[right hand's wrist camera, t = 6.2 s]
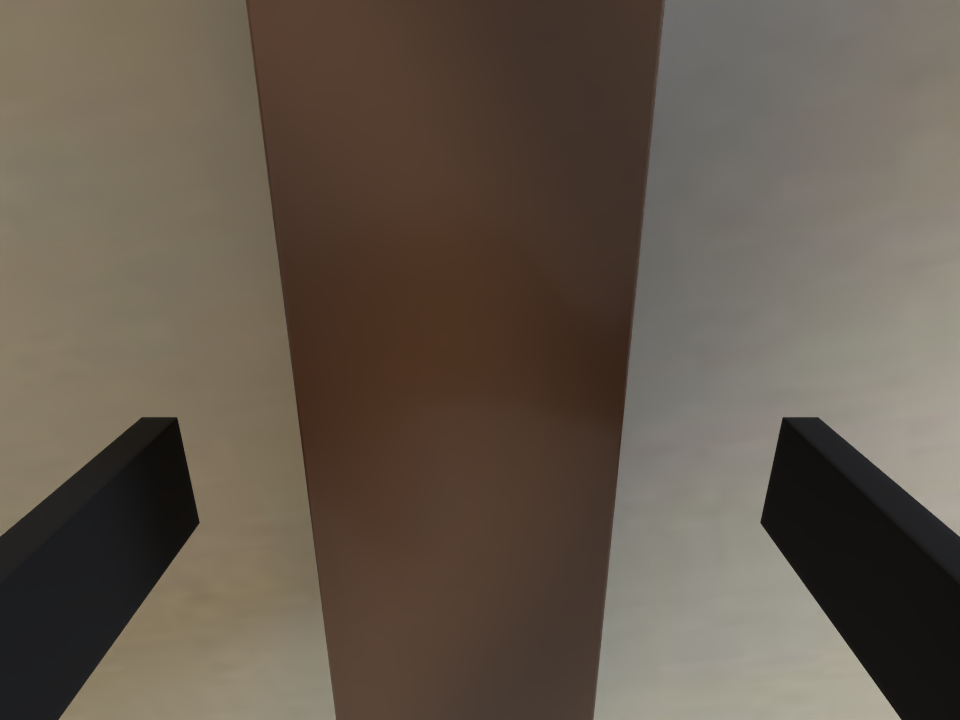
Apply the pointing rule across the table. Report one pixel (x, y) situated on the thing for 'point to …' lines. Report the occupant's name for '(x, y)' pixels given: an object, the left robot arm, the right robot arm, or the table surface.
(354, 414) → the walnut beam
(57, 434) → the table surface
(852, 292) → the table surface
